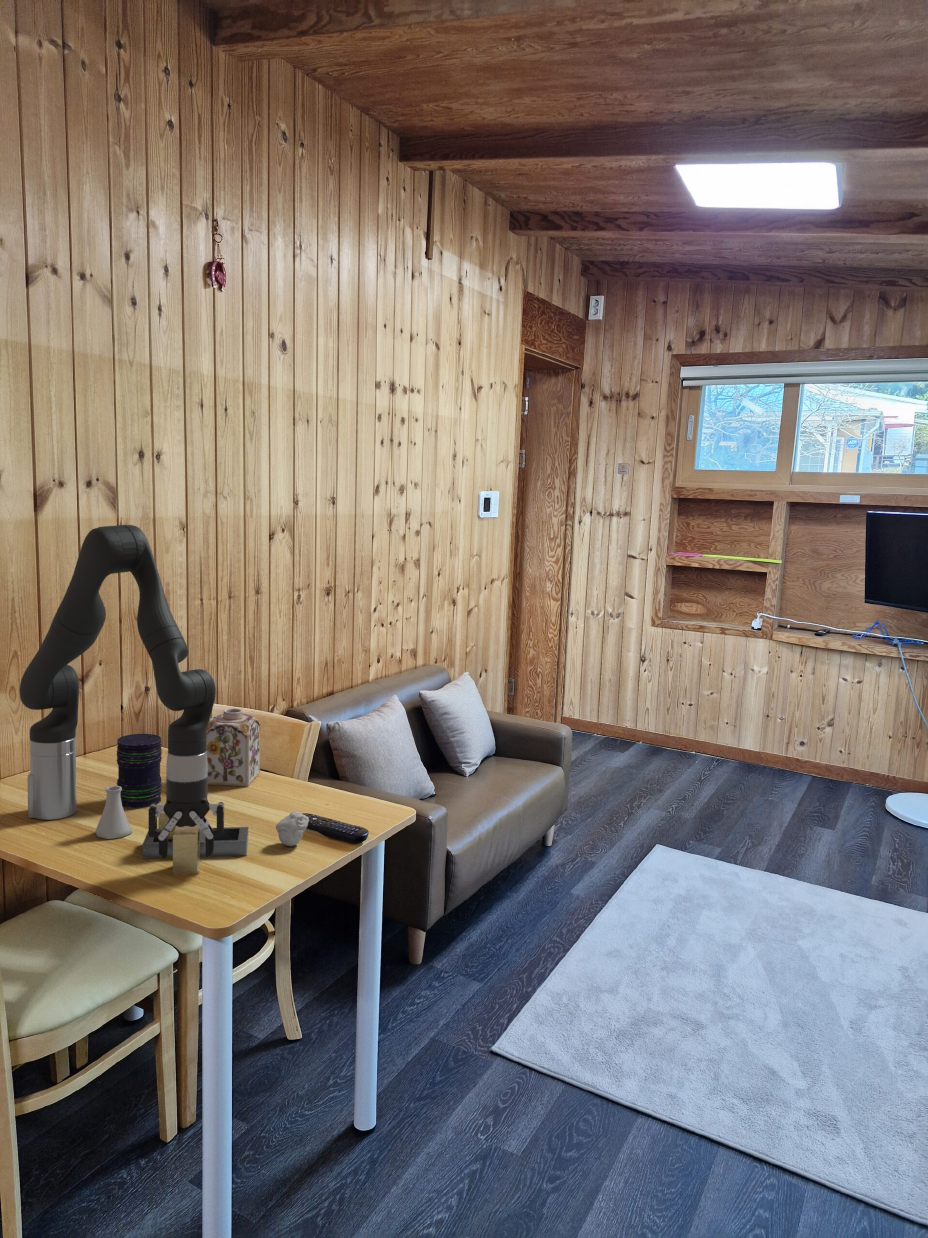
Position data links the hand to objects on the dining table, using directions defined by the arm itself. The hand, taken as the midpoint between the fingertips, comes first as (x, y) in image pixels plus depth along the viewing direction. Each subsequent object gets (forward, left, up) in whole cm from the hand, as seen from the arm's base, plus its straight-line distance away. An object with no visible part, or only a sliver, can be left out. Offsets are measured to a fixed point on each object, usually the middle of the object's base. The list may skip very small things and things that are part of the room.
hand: (186, 856), depth 173 cm
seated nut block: (-4, +10, -2) cm, 11 cm away
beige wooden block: (0, 0, -3) cm, 3 cm away
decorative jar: (+5, +56, -3) cm, 56 cm away
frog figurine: (+20, +11, -3) cm, 23 cm away
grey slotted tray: (+1, +10, -3) cm, 10 cm away
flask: (-17, +20, -3) cm, 26 cm away
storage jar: (-15, +40, -3) cm, 43 cm away
